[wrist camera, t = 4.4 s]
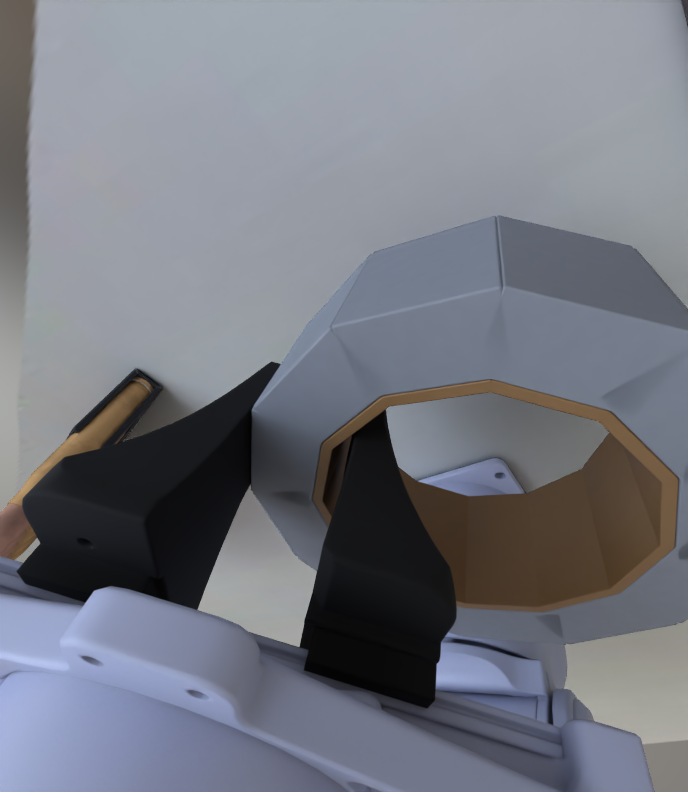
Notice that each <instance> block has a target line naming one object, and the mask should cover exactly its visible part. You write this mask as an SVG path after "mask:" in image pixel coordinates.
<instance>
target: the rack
mask: <svg viewBox="0 0 688 792" xmlns="http://www.w3.org/2000/svg"><path fill="white" fill-rule="evenodd" d="M682 4H683V8H684V13H685V17H686V21H687V25H688V0H682Z"/></svg>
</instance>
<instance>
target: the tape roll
mask: <svg viewBox="0 0 688 792" xmlns="http://www.w3.org/2000/svg"><path fill="white" fill-rule="evenodd" d="M488 392H492V393H496V394H499V395H503V396H507V397H510V398H514V399H518V400H521V401H525V402H529V403H532V404H536V405H540V406H543V407H547V408H551V409H555V410H558V411H562V412H566V413H569V414H573V415H577V416H580V417H584V418H588V419H591V420H595V421H598V422H599V423H600V424H602V425H603V426H604V427H605V428H606V429H607V430H608V431H609V432H610V433H609V434H608V435H607V437H606V438H605V439H604V440H603V442H602V443H601V444H600V446H599V447H598V448H597V450H596V451H595V452H594V453H593V455H592V456H591V457H590V459H589V460H588V461H587V462H586V464H585V465H584V466H583V468H582V469H581V470H578V471H576V472H574V473H572V474H569V475H567V476H565V477H563V478H560V479H558V480H556V481H554V482H551V483H549V484H547V485H545V486H542V487H540V488H538V489H536V490H533V491H531V492H529V493H522V494H501V495H481V496H466V495H463V494H460V493H456V492H453V491H449V490H446V489H443V488H439V487H436V486H433V485H429V484H426V483H422V482H419V481H416V480H414V479H413V478H412V477H410V476H409V475H408V474H407V473H405V472H404V471H403V470H402V469H400V468H399V467H398V468H399V471H400V474H401V477H402V479H403V482H404V485H405V487H406V489H407V492H408V494H409V497H410V499H411V501H412V503H413V505H414V507H415V509H416V511H417V513H418V515H419V517H420V519H421V521H422V523H423V525H424V527H425V528H426V530H427V532H428V533H429V535H430V537H431V539H432V540H433V542H434V543H435V545H436V547H437V548H438V550H439V551H440V553H441V554H442V556H443V557H444V559H445V560H446V562H447V563H448V565H449V566H450V568H451V573H452V578H453V582H454V588H455V595H456V606H457V618H456V621H455V623H454V625H453V627H452V628H451V629H450V631H449V633H452V634H455V635H458V636H463V637H474V638H487V639H499V640H511V641H524V642H536V643H549V644H561V645H566V643H567V644H574V643H579V642H584V641H590V640H595V639H601V638H606V637H611V636H617V635H622V634H627V633H633V632H638V631H644V630H649V629H654V628H660V627H665V626H671V625H676V624H678V623H682V622H684V621H686V620H687V619H688V309H687V308H686V306H685V305H684V304H683V303H682V302H681V301H680V299H679V298H678V297H677V296H676V295H675V294H674V292H673V291H672V290H671V289H670V288H669V287H668V285H667V284H666V283H665V282H664V281H663V280H662V279H661V277H660V276H659V275H658V274H657V273H656V272H655V270H654V269H653V268H652V267H651V266H650V265H649V263H648V262H647V261H646V260H645V259H644V258H643V256H642V255H641V254H640V253H639V252H638V251H637V250H636V249H635V248H633V247H632V246H629V245H625V244H620V243H616V242H612V241H607V240H603V239H599V238H594V237H590V236H586V235H581V234H577V233H572V232H568V231H564V230H559V229H555V228H551V227H546V226H542V225H538V224H533V223H529V222H525V221H520V220H516V219H512V218H507V217H503V216H497V217H496V216H492V217H489V218H486V219H482V220H479V221H476V222H472V223H469V224H466V225H462V226H459V227H456V228H452V229H449V230H446V231H442V232H439V233H436V234H432V235H429V236H426V237H422V238H419V239H416V240H412V241H409V242H406V243H402V244H399V245H396V246H392V247H389V248H386V249H382V250H379V251H376V252H374V253H373V254H371V255H369V256H368V257H367V259H366V260H365V261H364V262H363V263H362V264H361V265H360V266H359V268H358V269H357V270H356V271H355V272H354V273H353V274H352V275H351V276H350V278H349V279H348V280H347V281H346V282H345V283H344V284H343V285H342V287H341V288H340V289H339V290H338V291H337V292H336V293H335V294H334V295H333V297H332V298H331V299H330V300H329V301H328V302H327V303H326V304H325V305H324V307H323V308H322V309H321V310H320V311H319V312H318V313H317V314H316V316H315V317H314V318H313V319H312V320H311V321H310V322H309V323H308V324H307V326H306V327H305V329H304V330H303V332H302V333H301V335H300V336H299V338H298V339H297V341H296V342H295V344H294V345H293V347H292V349H291V350H290V352H289V353H288V355H287V356H286V358H285V359H284V361H283V362H282V364H281V365H280V367H279V368H278V370H277V371H276V373H275V374H274V376H273V377H272V379H271V380H270V382H269V383H268V385H267V386H266V388H265V389H264V391H263V392H262V394H261V395H260V397H259V398H258V400H257V401H256V403H255V404H254V407H253V409H252V435H251V490H252V491H253V494H254V495H255V497H256V498H257V500H258V501H259V503H260V504H261V506H262V507H263V509H264V510H265V511H266V513H267V514H268V516H269V517H270V519H271V520H272V522H273V523H274V525H275V526H276V528H277V529H278V531H279V532H280V534H281V535H282V536H283V538H284V539H285V541H286V542H287V544H288V545H289V547H290V548H291V550H292V551H293V553H294V554H295V555H296V556H298V558H299V559H300V560H301V561H303V562H304V563H306V564H307V565H309V566H310V567H312V568H313V569H315V570H316V571H317V570H318V565H319V561H320V556H321V551H322V547H323V543H324V540H325V537H326V534H327V530H328V527H329V524H330V521H331V518H332V515H333V512H334V509H335V505H336V502H337V499H338V496H339V493H340V489H341V486H342V482H343V476H344V471H345V465H346V459H347V455H348V450H349V446H350V441H351V437H352V434H354V433H355V432H356V431H358V430H359V429H360V428H362V427H363V426H364V425H366V424H367V423H368V422H370V421H371V420H372V419H374V418H375V417H376V416H378V415H379V414H380V413H382V412H383V411H384V410H386V409H387V408H388V407H389V406H396V405H403V404H410V403H418V402H425V401H432V400H439V399H446V398H453V397H460V396H467V395H474V394H481V393H488Z"/></svg>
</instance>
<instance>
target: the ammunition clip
mask: <svg viewBox="0 0 688 792" xmlns="http://www.w3.org/2000/svg"><path fill="white" fill-rule="evenodd" d="M161 391H162V387H160V386H159V385H157V384H156V383H155V382H153V381H152V380H150V379H149V378H148V377H146V376H145V375H144V374H142V373H141V372H139V371H138V370H137V369H134V370H133V371H132V372H131V373H130V374H129V375H128V376H127V377H126V378H125V379H124V380H123V381H122V382H121V383H120V384H119V385H117V386H116V387H115V388H114V389H113V390H112V391H111V392H110V393H109V394H108V395H107V396H106V397H105V398H104V399H103V400H102V401H101V402H100V403H99V404H98V405H97V406H96V407H95V408H93V409H92V410H91V411H90V412H89V413H88V414H87V415H86V416H85V417H84V418H83V419H82V420H81V421H80V422H79V423H78V424H77V425H76V426H75V427H74V428H73V429H72V431H71V432H70V434H69V436H68V437H67V439H66V441H65V442H64V443H63V444H62V445H61V446H60V447H59V448H58V449H57V450H56V451H55V452H53V453H52V454H51V455H50V456H49V457H48V458H47V459H46V460H45V461H44V462H43V463H42V464H41V465H40V466H39V467H38V468H37V469H36V470H35V471H34V472H33V473H32V474H31V476H30V477H29V478H28V480H27V481H26V483H25V484H24V486H23V487H22V489H21V490H20V491H19V492H18V493H17V494H16V495H15V496H14V497H13V498H12V499H11V500H10V502H9V503H8V504H7V506H6V507H5V508H4V509H3V510H2V511H1V512H0V556H2V557H6V558H9V559H12V560H15V559H16V558H17V557H19V556H20V555H21V554H22V553H23V552H24V551H25V550H26V549H27V548H28V547H29V546H30V545H31V544H32V543H33V542H34V540H35V539H36V538H37V536H36V534H35V532H34V531H33V529H32V527H31V525H30V524H29V522H28V520H27V518H26V517H25V514H24V511H23V509H22V500H23V498H24V496H25V495H26V494H27V493H28V492H29V491H30V490H31V489H32V488H33V487H34V486H35V485H36V484H37V483H38V482H39V481H40V480H41V479H42V478H43V477H44V476H45V475H46V474H47V473H48V472H49V471H50V470H51V469H52V468H53V467H54V466H55V465H56V464H57V463H58V462H59V461H61V460H62V459H63V458H64V457H66V456H71V455H75V454H79V453H84V452H88V451H92V450H96V449H100V448H104V447H107V446H111V445H114V444H118V443H121V442H123V440H124V439H125V438H126V436H127V435H128V434H129V432H130V431H131V430H132V429H133V427H134V426H135V425H136V423H137V422H138V421H139V419H140V418H141V417H142V415H143V414H144V413H145V412H146V410H147V409H148V408H149V406H150V405H151V404H152V402H153V401H154V400H155V398H156V397H157V396H158V395H159V393H160V392H161Z"/></svg>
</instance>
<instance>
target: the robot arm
mask: <svg viewBox="0 0 688 792" xmlns="http://www.w3.org/2000/svg"><path fill="white" fill-rule="evenodd" d="M280 365H281V364H278V363H275V362H270V363H269V364H267V365H266V366H265V367H263V368H262V369H261V370H259V371H258V372H256V373H255V374H254V375H252V376H251V377H250V378H248V379H247V380H246V381H244V382H243V383H241V384H240V385H238V386H237V387H235V388H234V389H232V390H231V391H230V392H228V393H227V394H225V395H224V396H222V397H220V398H219V399H217V400H215V401H214V402H212V403H210V404H209V405H207V406H205V407H204V408H202V409H200V410H198V411H197V412H195V413H193V414H191V415H189V416H187V417H185V418H183V419H181V420H179V421H177V422H174V423H172V424H170V425H167V426H165V427H162V428H160V429H157V430H155V431H152V432H150V433H147V434H145V435H142V436H139V437H136V438H133V439H130V440H127V441H124V442H121V443H118V444H114V445H111V446H107V447H104V448H100V449H96V450H92V451H88V452H84V453H79V454H75V455H71V456H66V457H64V458H63V459H62V460H61V461H59V462H58V463H57V464H56V465H55V466H54V467H53V468H52V469H51V470H50V471H49V472H48V473H47V474H46V475H45V476H44V477H43V478H42V479H41V480H40V481H39V482H38V483H37V484H36V485H35V486H34V487H33V488H32V489H31V490H30V491H29V492H28V493H27V494H26V495H25V496H24V498H23V500H22V509H23V511H24V514H25V517H26V518H27V520H28V522H29V524H30V525H31V527H32V529H33V531H34V532H35V534H36V536H37V538H38V540H39V541H40V545H39V546H38V547H37V548H36V549H35V550H34V551H33V553H32V554H31V555H30V556H29V557H28V558H27V560H26V561H25V562H24V563H22V562H19V561H15V560H12V559H9V558H6V557H2V556H0V792H654V788H653V784H652V781H651V777H650V773H649V769H648V765H647V761H646V758H645V753H644V750H643V746H642V742H641V738H640V737H639V736H637V735H636V734H634V733H631V732H628V731H625V730H621V729H618V728H615V727H611V726H608V725H605V724H602V723H598V722H595V721H594V719H593V716H592V714H591V712H590V710H589V709H588V708H587V707H586V706H585V705H584V704H583V703H582V702H581V701H579V700H578V699H577V698H576V696H575V694H574V693H573V692H572V691H571V690H568V689H563V688H564V685H565V681H566V676H567V658H566V652H565V646H564V645H561V644H549V643H536V642H524V641H511V640H499V639H487V638H474V637H463V636H458V635H455V634H452V633H449V631H450V629H451V628H452V627H453V625H454V623H455V621H456V618H457V606H456V595H455V588H454V582H453V578H452V573H451V568H450V566H449V565H448V563H447V562H446V560H445V559H444V557H443V556H442V554H441V553H440V551H439V550H438V548H437V547H436V545H435V543H434V542H433V540H432V539H431V537H430V535H429V533H428V532H427V530H426V528H425V527H424V525H423V523H422V521H421V519H420V517H419V515H418V513H417V511H416V509H415V507H414V505H413V503H412V501H411V499H410V497H409V494H408V492H407V489H406V487H405V485H404V482H403V479H402V477H401V474H400V471H399V468H398V465H397V462H396V458H395V455H394V451H393V448H392V443H391V439H390V434H389V429H388V423H387V416H386V410H384V411H383V412H382V413H380V414H379V415H378V416H376V417H375V418H374V419H372V420H371V421H370V422H368V423H367V424H366V425H364V426H363V427H362V428H360V429H359V430H358V431H356V432H355V433H354V434H352V437H351V441H350V446H349V450H348V455H347V459H346V465H345V471H344V476H343V482H342V486H341V489H340V493H339V496H338V499H337V502H336V505H335V509H334V512H333V515H332V518H331V521H330V524H329V527H328V530H327V534H326V537H325V540H324V543H323V547H322V551H321V556H320V561H319V565H318V570H317V575H316V579H315V584H314V589H313V593H312V597H311V600H310V604H309V607H308V611H307V614H306V618H305V622H304V623H305V624H304V629H303V633H302V638H301V643H300V647H296V646H293V645H290V644H286V643H283V642H280V641H277V640H273V639H270V638H267V637H264V636H260V635H257V634H254V633H251V632H248V631H246V630H245V629H244V628H242V627H241V626H240V625H237V624H235V623H233V622H230V621H228V620H226V619H223V618H221V617H218V616H215V615H211V614H208V613H205V612H202V611H198V610H197V609H198V606H199V604H200V601H201V598H202V596H203V593H204V590H205V588H206V585H207V582H208V580H209V577H210V575H211V572H212V570H213V567H214V565H215V562H216V560H217V557H218V555H219V552H220V550H221V547H222V545H223V542H224V540H225V538H226V535H227V533H228V530H229V528H230V526H231V523H232V521H233V519H234V516H235V514H236V512H237V510H238V507H239V505H240V503H241V501H242V499H243V497H244V495H245V493H246V491H247V489H248V488H249V486H250V484H251V435H252V409H253V407H254V404H255V403H256V401H257V400H258V398H259V397H260V395H261V394H262V392H263V391H264V389H265V388H266V386H267V385H268V383H269V382H270V380H271V379H272V377H273V376H274V374H275V373H276V371H277V370H278V368H279V367H280ZM500 472H501V473H502V474H498V473H500ZM418 481H419V482H422V483H426V484H429V485H433V486H436V487H439V488H443V489H446V490H449V491H453V492H456V493H460V494H463V495H466V496H481V495H501V494H522V493H525V492H524V490H523V489H522V487H521V486H520V484H519V483H518V481H517V480H516V478H515V477H514V475H513V474H512V472H511V471H510V469H509V468H508V466H507V465H506V463H505V462H504V461H503V460H501V459H498V458H493V459H489V460H486V461H482V462H479V463H476V464H472V465H469V466H465V467H462V468H459V469H455V470H452V471H449V472H445V473H442V474H438V475H435V476H432V477H428V478H425V479H422V480H418Z"/></svg>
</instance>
